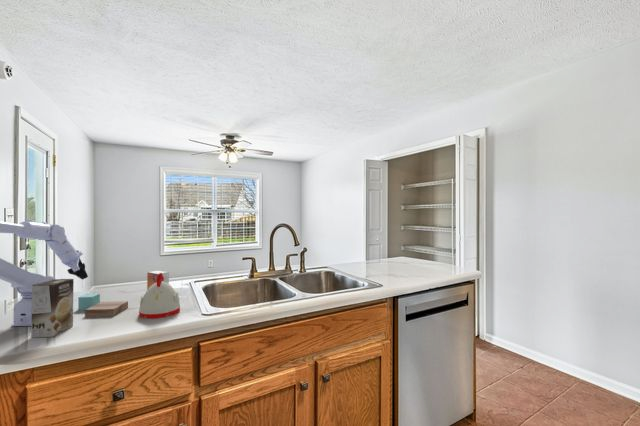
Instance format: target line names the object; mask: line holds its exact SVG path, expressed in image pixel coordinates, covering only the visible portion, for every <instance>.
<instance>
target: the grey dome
mask: <svg viewBox="0 0 640 426" xmlns="http://www.w3.org/2000/svg"><path fill="white" fill-rule="evenodd" d="M180 304H181V302H180V296H179V292H176V290H175V288H174V287H173V286H172V285H171V284H170V283H169V284H168V283H166V282H164V277H163V275H162V273H159V275H157V280H156V283H155V284H153V285H152V286H151V287H150V288H149V289H148V290H147V289H146V291H145V293H144V295H143V296H140V301H139V308H138V309H139V311H138V316H139V317H140V318H143V319H152V320H153V319H161V318H167V316H168V317H171V315H172V316H174V315H176V314H178V313H179V312H180V311H181V305H180Z"/></svg>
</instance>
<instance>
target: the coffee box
mask: <svg viewBox="0 0 640 426" xmlns="http://www.w3.org/2000/svg"><path fill="white" fill-rule="evenodd" d="M74 284H75V283H74V278H60V279H59V278H55V279H54V280H50V281H46V282H42V283H38V284H35V285H32V323H31V327H30V328H31V330H30V334H31V335H30V337H31V338H52V337H55V336H57V335H58V334H61V333H62V332H65V331H66V330H69V329H71V328H72V327H73V326H74Z"/></svg>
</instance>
